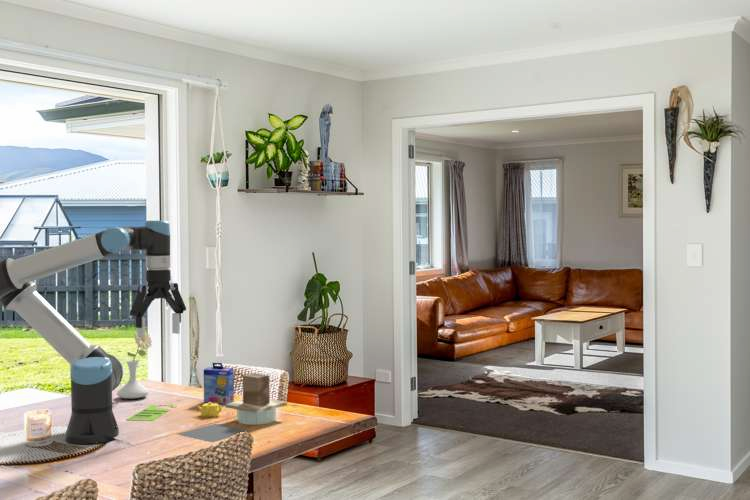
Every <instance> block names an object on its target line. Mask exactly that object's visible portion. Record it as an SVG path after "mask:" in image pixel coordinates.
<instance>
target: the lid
mask: <svg viewBox="0 0 750 500" xmlns="http://www.w3.org/2000/svg"><path fill="white" fill-rule="evenodd" d="M270 396H271V395H270V375H269V374H262V373H255V372H254V373H249V374H244V375H242V399H241V400H238V401H233V402H231V403H228V404H225V405H224V407H225V408H228V409H230V410H231V409H232V410H236V411H237V410H242V411H247V412H252V413H259V412H263V411H267V410H271V409H274V408H276V409H277V408H281V407H285V406H288V402H287V401H284V400H283V401H282V400H277V399H271V398H270Z"/></svg>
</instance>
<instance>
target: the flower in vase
mask: <svg viewBox="0 0 750 500" xmlns="http://www.w3.org/2000/svg"><path fill="white" fill-rule="evenodd" d="M134 340H135V344H136V345H137V349H136V352H135V353H131V352H130V351H127V356H128V357H131V358H133V359H126V360H125V363H126V364H127V367H128V370H129V372H128V373H129V379H128V381H127V382H126V383H125V384H124V385H123V386H122V387H121V388H119V390H117V393H116V395H117V396H118V397H119V398H121V399H126V400H127V399H129V400H130V399H131V400H132V399H140V398H144V397H146V396H148V394H149V389H148V388H147V387H146V386H144V385H143V384H142V383H140V382H139V381H138V379H137V366H138V364H139V362H140V359H136V356H137V355H139V356H140V357H144V356H146V355H148V353H147V351H145V350H148V349H149V348H151V346H152V342H153V341H152V339H151V337H150V335H149V333H148V332H146V331H145V338H144V339H142V338H138V330H137V332H135V333H134ZM139 348H141V349H139Z"/></svg>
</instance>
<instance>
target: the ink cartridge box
mask: <svg viewBox="0 0 750 500" xmlns="http://www.w3.org/2000/svg"><path fill="white" fill-rule="evenodd" d="M234 370H235V369H234V368H233V367H226V366H223V362H212V366H208V367H205V368H204V369H203V403H204V402H207V403H208V402H212V403H218V404H225V403H226V404H228V403H233V402H235V381H234V380H235V375H234Z"/></svg>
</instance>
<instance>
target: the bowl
mask: <svg viewBox="0 0 750 500" xmlns="http://www.w3.org/2000/svg"><path fill="white" fill-rule="evenodd" d="M276 409H277V408H274V409H271V410H267V411H263V412H259V413H252V412H247V411H242V410H237V409H236V421H237V422H238V424H241V425H242V424H243V425H250V426H251V425H253V426H254V425H255V426H256V425H265V424H267V425H268V424H270V423H273V422H276V420H277V419H276V418H277V414H276V413H277V410H276Z"/></svg>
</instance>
